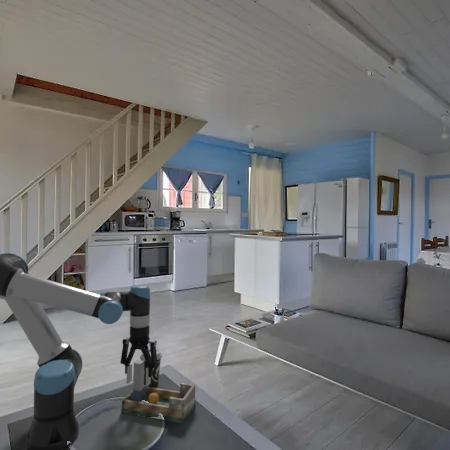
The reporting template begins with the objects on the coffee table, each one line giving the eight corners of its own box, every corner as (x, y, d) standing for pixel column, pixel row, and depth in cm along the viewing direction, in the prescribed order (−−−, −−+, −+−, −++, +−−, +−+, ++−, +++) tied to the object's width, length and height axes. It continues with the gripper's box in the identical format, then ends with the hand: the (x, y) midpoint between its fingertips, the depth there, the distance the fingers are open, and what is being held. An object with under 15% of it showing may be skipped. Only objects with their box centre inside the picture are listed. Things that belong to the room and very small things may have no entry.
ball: (146, 405, 122) (146, 395, 122) (151, 400, 126) (151, 390, 126) (155, 407, 121) (156, 396, 121) (160, 401, 125) (160, 391, 125)
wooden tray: (121, 413, 119) (121, 391, 120) (138, 395, 132) (138, 376, 132) (183, 423, 114) (183, 401, 114) (195, 404, 126) (195, 384, 126)
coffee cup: (154, 379, 147) (155, 346, 147) (165, 386, 140) (166, 352, 140) (135, 385, 140) (136, 351, 141) (146, 394, 133) (146, 358, 134)
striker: (130, 404, 122) (130, 365, 122) (139, 395, 129) (139, 358, 129) (137, 406, 121) (138, 366, 121) (146, 396, 128) (146, 358, 128)
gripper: (167, 324, 127) (166, 382, 126) (121, 320, 131) (120, 375, 131) (159, 330, 119) (158, 391, 119) (111, 325, 124) (110, 384, 124)
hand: (138, 383), depth 125 cm, fingers open, 8 cm apart
